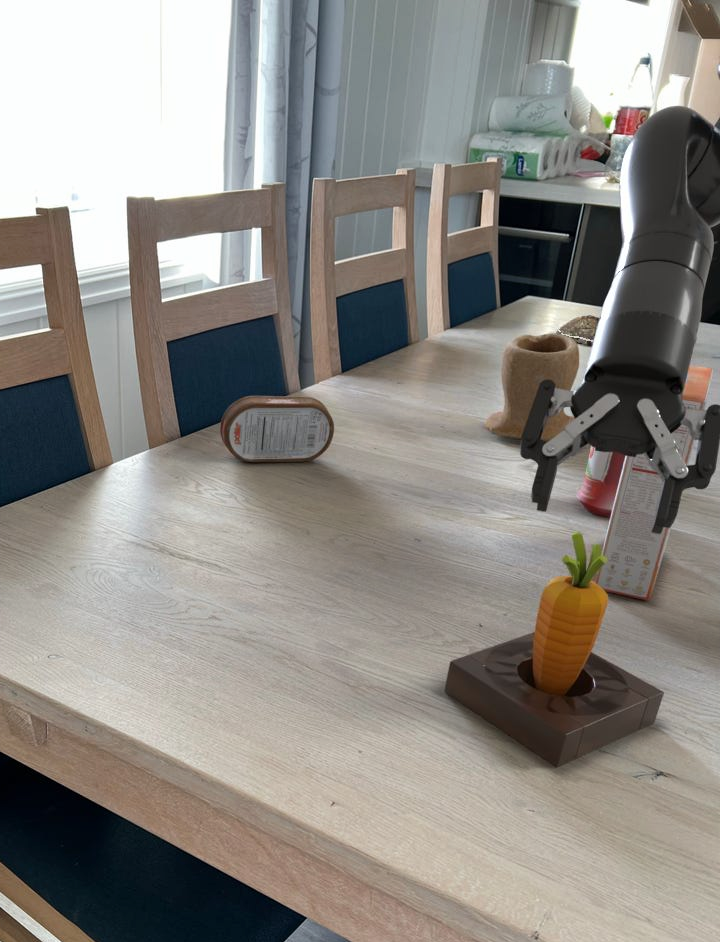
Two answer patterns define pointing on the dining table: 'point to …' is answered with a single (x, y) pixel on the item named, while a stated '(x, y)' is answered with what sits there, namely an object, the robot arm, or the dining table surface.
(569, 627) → the carrot
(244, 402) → the tin
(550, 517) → the dining table surface
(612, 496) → the liquor
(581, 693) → the socket pad
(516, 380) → the stone cup
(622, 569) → the cracker box
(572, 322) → the brown shell
